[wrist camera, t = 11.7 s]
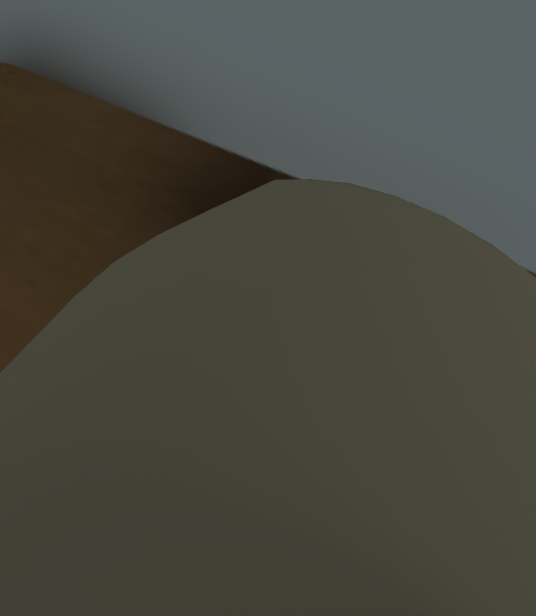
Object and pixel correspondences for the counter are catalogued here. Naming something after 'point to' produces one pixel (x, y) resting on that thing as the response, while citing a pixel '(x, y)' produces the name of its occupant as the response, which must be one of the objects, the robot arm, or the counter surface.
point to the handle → (279, 422)
